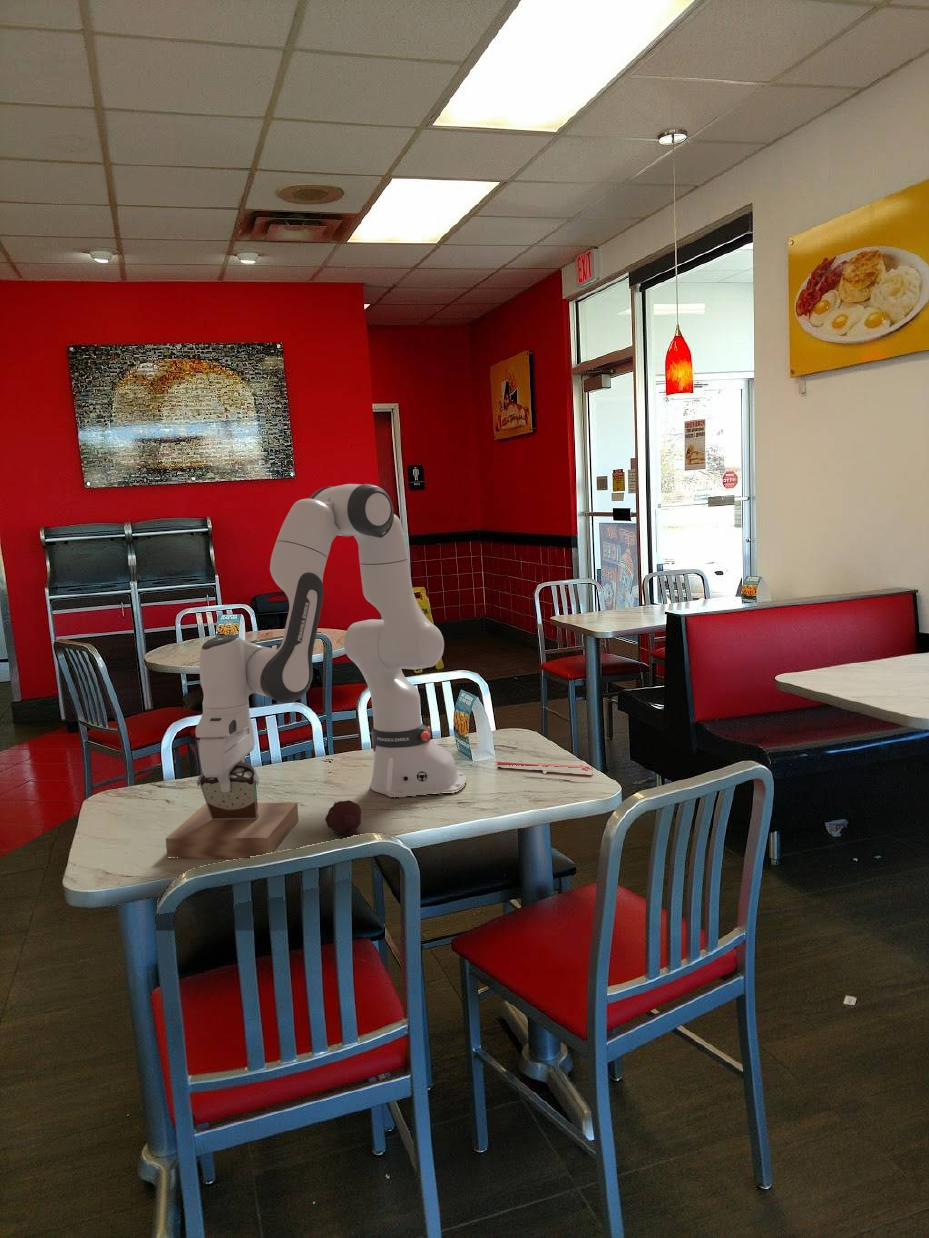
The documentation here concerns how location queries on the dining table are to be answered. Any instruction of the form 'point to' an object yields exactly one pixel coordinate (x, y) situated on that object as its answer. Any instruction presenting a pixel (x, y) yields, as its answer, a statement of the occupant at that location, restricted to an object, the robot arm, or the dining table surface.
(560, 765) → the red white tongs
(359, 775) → the dining table surface
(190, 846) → the walnut block
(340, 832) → the icecream
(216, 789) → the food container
